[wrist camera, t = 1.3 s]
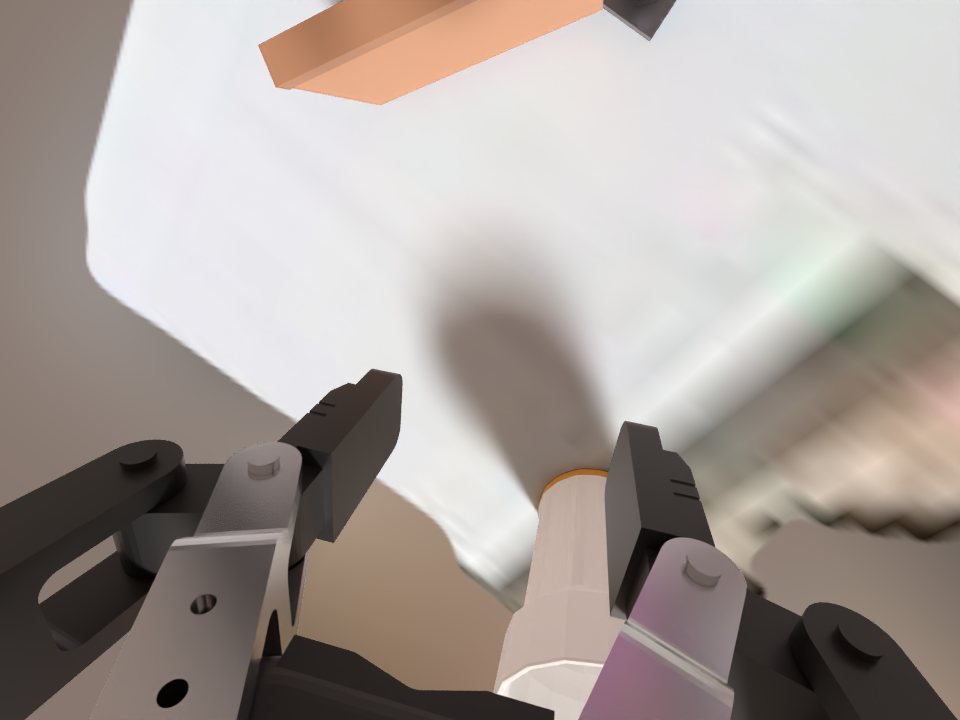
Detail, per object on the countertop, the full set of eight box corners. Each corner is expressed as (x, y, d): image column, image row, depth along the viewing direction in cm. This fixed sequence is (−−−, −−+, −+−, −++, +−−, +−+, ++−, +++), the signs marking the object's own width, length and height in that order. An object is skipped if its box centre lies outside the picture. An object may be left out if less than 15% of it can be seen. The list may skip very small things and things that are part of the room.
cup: (501, 494, 43) (451, 693, 27) (605, 434, 38) (617, 633, 22) (578, 576, 45) (573, 804, 29) (687, 528, 40) (749, 770, 24)
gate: (596, -23, 25) (600, -135, 15) (602, 11, 26) (611, -75, 16) (371, 79, 30) (258, 45, 19) (380, 106, 30) (275, 87, 20)
